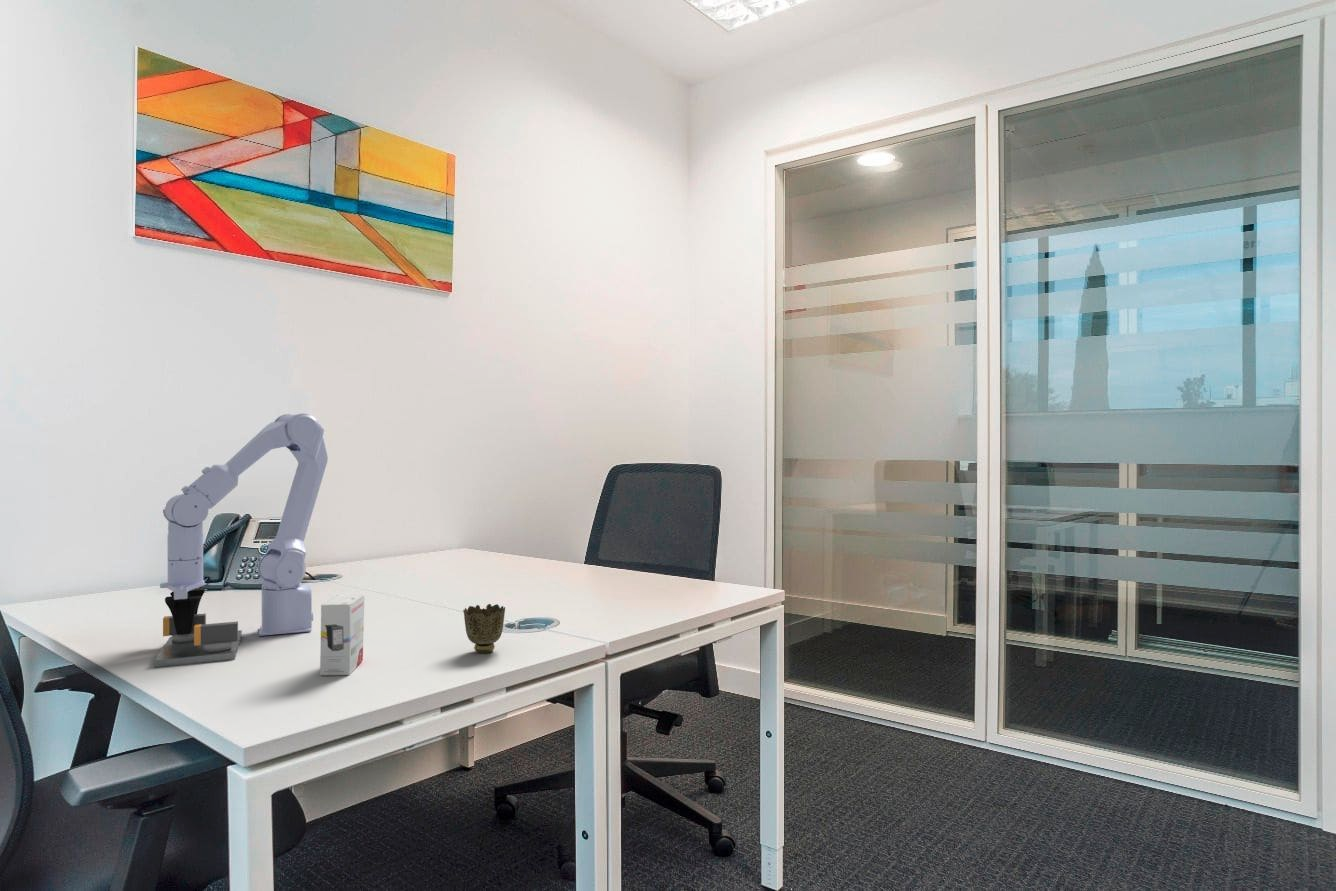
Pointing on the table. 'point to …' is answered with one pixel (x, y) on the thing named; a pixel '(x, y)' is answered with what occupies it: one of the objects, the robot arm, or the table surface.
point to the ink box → (342, 634)
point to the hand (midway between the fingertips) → (185, 631)
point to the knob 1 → (170, 629)
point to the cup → (484, 626)
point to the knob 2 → (216, 636)
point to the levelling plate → (192, 653)
